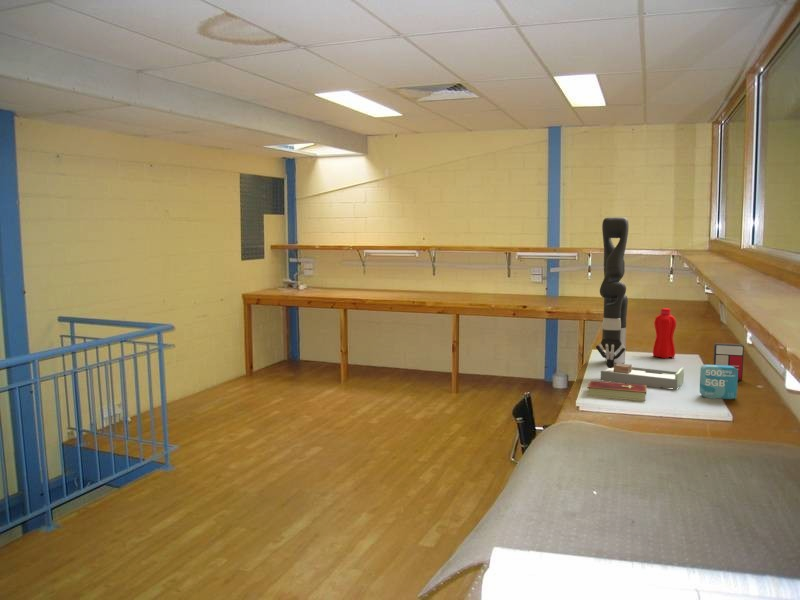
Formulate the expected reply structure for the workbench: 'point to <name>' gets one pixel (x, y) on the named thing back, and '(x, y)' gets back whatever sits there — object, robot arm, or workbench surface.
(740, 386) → the workbench surface
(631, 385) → the hardcover book
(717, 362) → the grey white red block
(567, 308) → the workbench surface
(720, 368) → the data package
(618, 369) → the walnut block
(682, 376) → the box
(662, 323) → the water bottle
